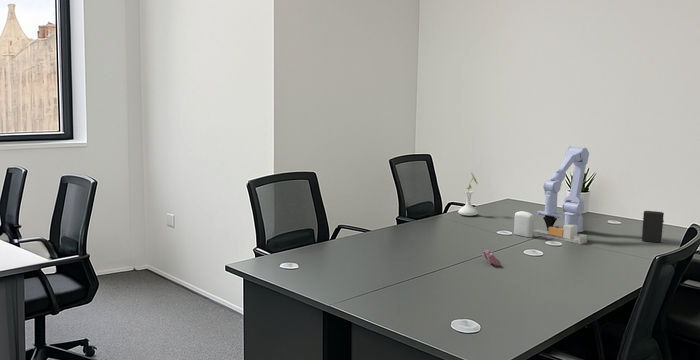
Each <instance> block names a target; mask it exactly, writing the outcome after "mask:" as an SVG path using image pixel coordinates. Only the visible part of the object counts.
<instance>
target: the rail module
mask: <svg viewBox="0 0 700 360" xmlns="http://www.w3.org/2000/svg"><path fill="white" fill-rule="evenodd" d="M562 227H563V238H568V239H572V238H574V236H575V235H578V233H577V228H578V225H573V224H568V225H565V224H564V225H563V226H562Z"/></svg>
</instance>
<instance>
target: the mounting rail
mask: <svg viewBox="0 0 700 360" xmlns="http://www.w3.org/2000/svg"><path fill="white" fill-rule="evenodd" d="M533 235H536V236H542V237H545V238H551V239H555V240H561V241H564V242H570V243H574V244H579V245H583V244H588V238H587V237H588V235H587V234H582V233H579V234H577V235H575V236H574V238H572V239H568V238H563V237H560V236H555V235H550V234H548V231H547V230H543V229H537V228H536V229H533Z"/></svg>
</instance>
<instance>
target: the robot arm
mask: <svg viewBox="0 0 700 360" xmlns="http://www.w3.org/2000/svg"><path fill="white" fill-rule="evenodd" d="M589 156H590V152H589V150H588V148H587V147H579V146H571V145H569V146H568V147H567V148H566V150H565V157H564V159H563V162H562V163H561V165H560V167H559V168H557V169H555V171H554V172H553V174H552V175H551V177H550V178H549V180H546V181H545V182H544V183H543V190H544V195H545V200H544V201H545V203H544V210H537V211H536V215H537V216H543V218H542V219H543V221H544V223H545V226H546V231H547V232H548V230H549V227H552V226H555V223H556V222H557V220H558V219H560V220H564V225H568V224H573V225H578V228H577V234H578V233H581V232H584V231H585V230H584V229H583V227H584V222H583V221H584V217H583V215H582V214H583V213H584V210H585V201H584V200H583V198H582V197H581V193H582V187H583V182H584V177H585V173H586V172H585V171H586V167H587V164H588V161H589ZM572 164H573V165H574V169H573V170H574V171H573V174H572V179H571V185H570V190H569V195H568V196H566V197H564V199H563V200H564V201H563V202H562V205H561V209H562V212H563V214H561V213H559V212H558V210H557V209H558V193H559V192H560V191H561V187H562V182H563V181H564V180H565V178H566V177H567V173H566V172H567V171H568V170H569V168H570V167H571V166H572Z"/></svg>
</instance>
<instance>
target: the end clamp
mask: <svg viewBox="0 0 700 360" xmlns="http://www.w3.org/2000/svg"><path fill="white" fill-rule="evenodd" d="M547 232H548V234H550V235H555V236H560V237H563V226H559V225H553V226H552V227H549V230H548V231H547Z"/></svg>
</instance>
